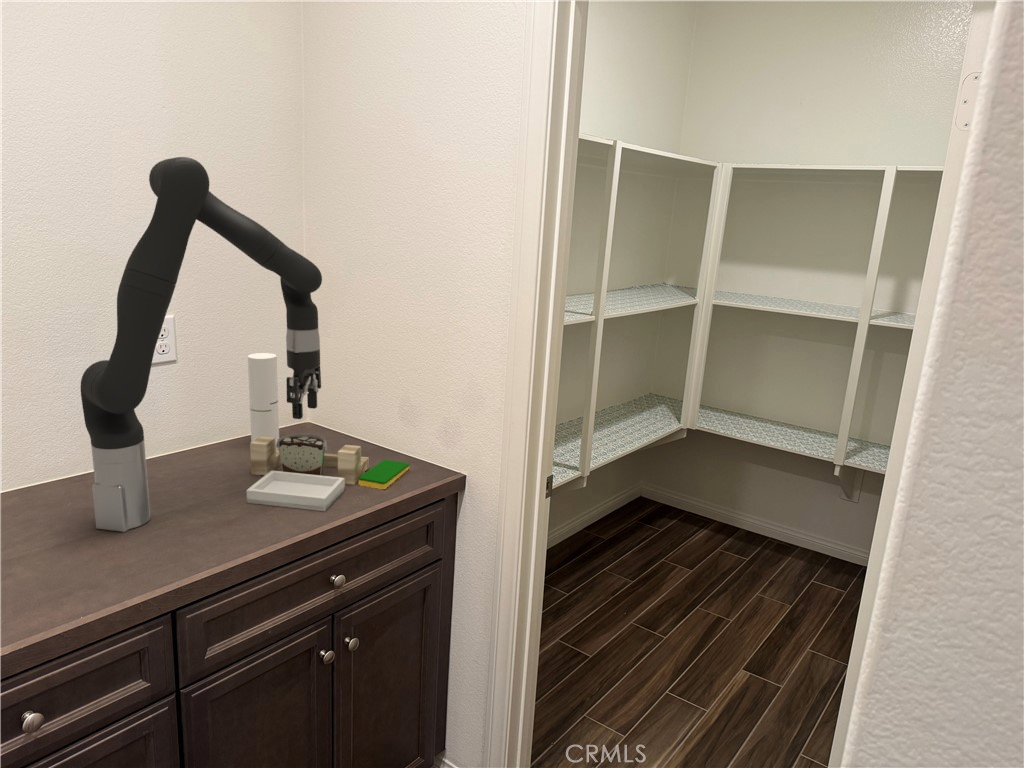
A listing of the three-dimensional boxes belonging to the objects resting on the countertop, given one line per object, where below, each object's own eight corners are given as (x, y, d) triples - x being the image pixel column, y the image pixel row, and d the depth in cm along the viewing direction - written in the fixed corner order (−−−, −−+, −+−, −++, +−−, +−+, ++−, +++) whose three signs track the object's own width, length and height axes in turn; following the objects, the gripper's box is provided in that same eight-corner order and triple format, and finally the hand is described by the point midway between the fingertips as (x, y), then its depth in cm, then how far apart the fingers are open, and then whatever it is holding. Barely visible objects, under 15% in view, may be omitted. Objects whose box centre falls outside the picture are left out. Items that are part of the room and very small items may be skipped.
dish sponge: (409, 472, 178) (409, 463, 177) (384, 491, 165) (384, 482, 164) (384, 467, 179) (384, 458, 179) (357, 486, 167) (357, 477, 166)
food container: (335, 473, 173) (334, 435, 170) (326, 482, 167) (325, 443, 165) (287, 468, 174) (286, 430, 171) (277, 478, 168) (275, 439, 166)
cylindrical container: (285, 445, 190) (282, 355, 184) (263, 452, 184) (259, 360, 178) (267, 439, 194) (264, 351, 187) (245, 446, 188) (241, 355, 182)
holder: (354, 484, 167) (353, 453, 165) (251, 473, 170) (250, 443, 168) (368, 468, 177) (368, 438, 175) (271, 458, 180) (270, 429, 178)
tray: (324, 511, 152) (324, 498, 151) (247, 502, 154) (246, 490, 153) (344, 489, 163) (344, 477, 163) (272, 482, 165) (271, 470, 165)
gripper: (300, 340, 170) (302, 403, 174) (274, 352, 156) (276, 420, 160) (330, 342, 169) (331, 406, 173) (306, 354, 155) (308, 423, 159)
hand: (305, 413), depth 167 cm, fingers open, 8 cm apart
